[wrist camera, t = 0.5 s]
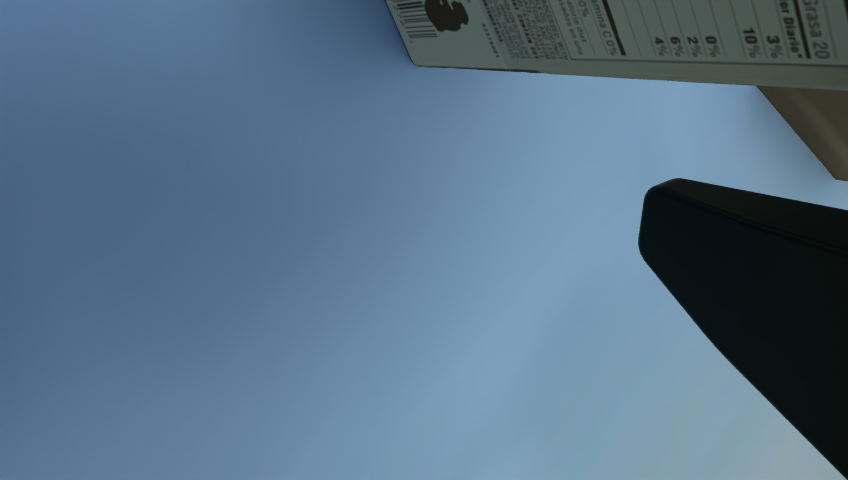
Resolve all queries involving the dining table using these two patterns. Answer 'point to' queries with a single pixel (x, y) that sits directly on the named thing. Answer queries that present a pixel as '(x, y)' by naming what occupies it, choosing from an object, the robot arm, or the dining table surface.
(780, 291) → the robot arm
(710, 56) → the coffee box
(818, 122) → the dot tablet
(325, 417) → the dining table surface
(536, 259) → the dining table surface
